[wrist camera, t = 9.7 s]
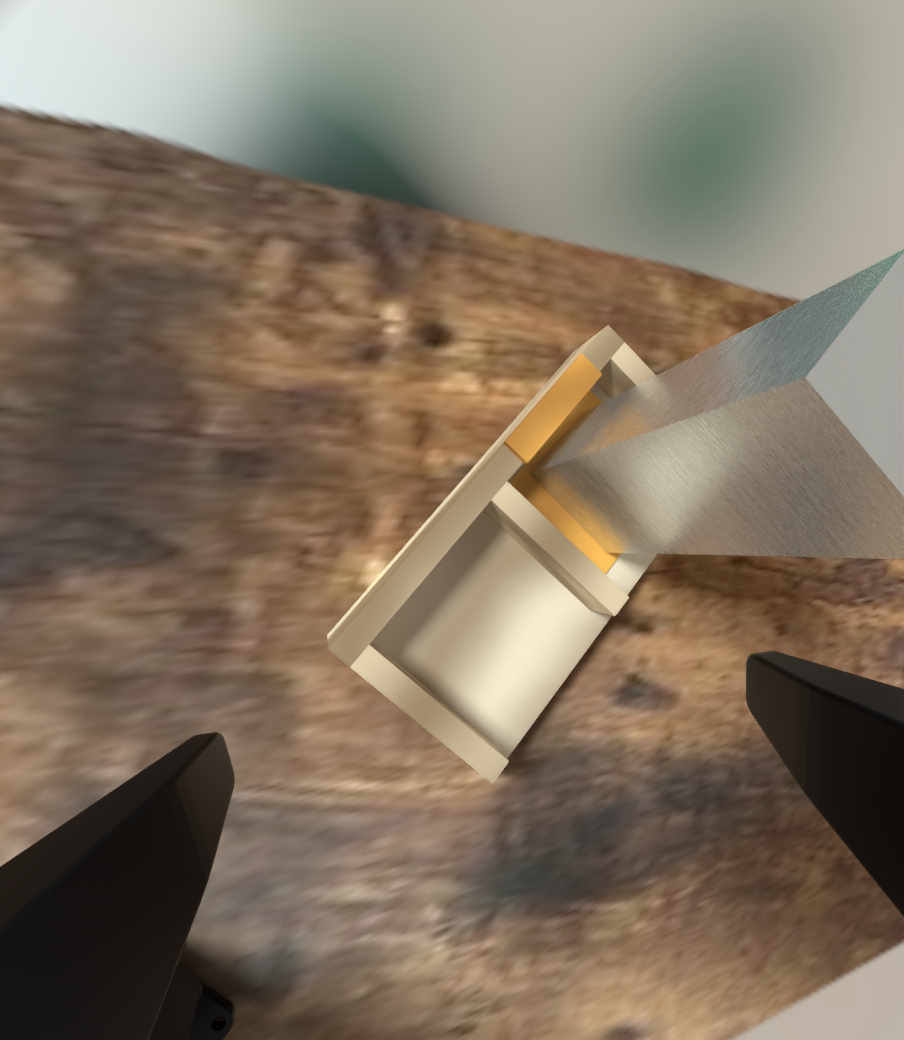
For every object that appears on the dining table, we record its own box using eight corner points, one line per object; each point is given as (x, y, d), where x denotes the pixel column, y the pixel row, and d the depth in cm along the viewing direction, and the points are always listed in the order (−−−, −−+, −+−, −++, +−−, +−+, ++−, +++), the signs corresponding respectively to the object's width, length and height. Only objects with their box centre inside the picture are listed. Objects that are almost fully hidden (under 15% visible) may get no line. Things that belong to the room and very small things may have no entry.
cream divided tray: (698, 480, 26) (752, 471, 22) (486, 766, 22) (514, 803, 19) (572, 350, 24) (610, 320, 21) (325, 633, 21) (326, 649, 18)
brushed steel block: (606, 552, 23) (956, 560, 10) (529, 473, 22) (805, 377, 10) (659, 487, 24) (1043, 419, 11) (587, 409, 23) (910, 242, 10)
